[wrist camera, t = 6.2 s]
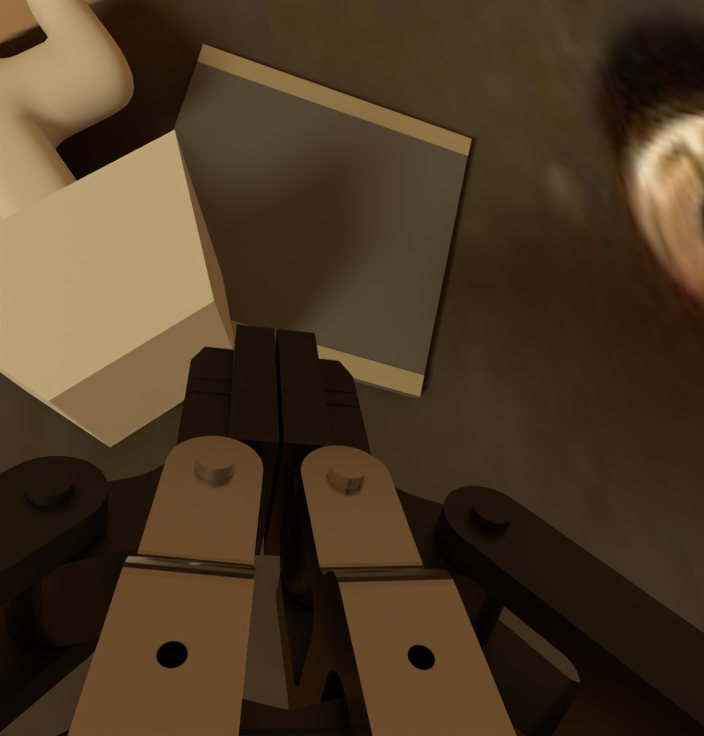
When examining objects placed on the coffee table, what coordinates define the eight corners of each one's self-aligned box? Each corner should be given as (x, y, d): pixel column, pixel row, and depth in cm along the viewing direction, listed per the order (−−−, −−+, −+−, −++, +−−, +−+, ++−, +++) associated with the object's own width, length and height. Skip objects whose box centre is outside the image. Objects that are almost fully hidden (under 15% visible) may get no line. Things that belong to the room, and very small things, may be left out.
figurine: (49, 507, 19) (-142, 166, 23) (309, 339, 22) (93, 53, 26) (-102, 450, 13) (-335, -15, 17) (299, 214, 15) (6, -147, 19)
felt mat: (467, 144, 27) (471, 138, 26) (416, 398, 24) (420, 396, 23) (203, 51, 25) (203, 44, 25) (110, 313, 22) (109, 309, 21)
